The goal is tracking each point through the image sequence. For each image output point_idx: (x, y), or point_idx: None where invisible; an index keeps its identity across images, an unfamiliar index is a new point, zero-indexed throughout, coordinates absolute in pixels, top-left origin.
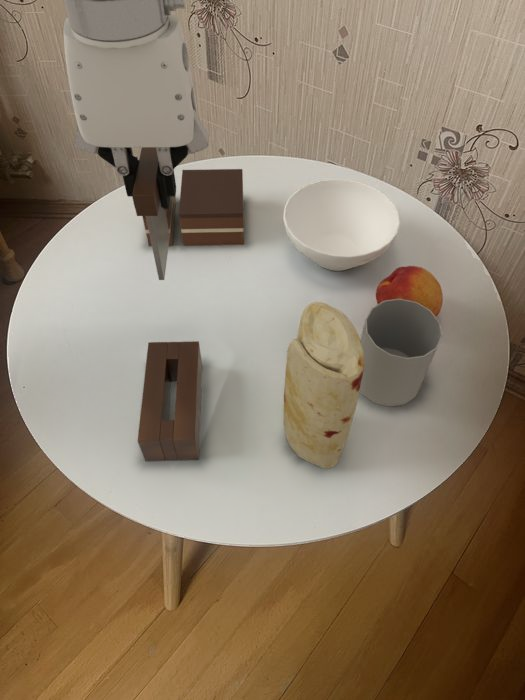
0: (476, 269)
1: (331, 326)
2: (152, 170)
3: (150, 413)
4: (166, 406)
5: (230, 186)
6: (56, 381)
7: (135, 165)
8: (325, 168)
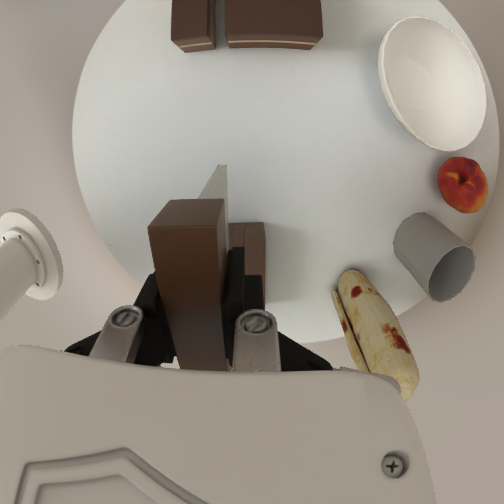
0: (497, 140)
1: (403, 389)
2: (211, 340)
3: None
4: None
5: None
6: (131, 240)
7: (162, 332)
8: None
